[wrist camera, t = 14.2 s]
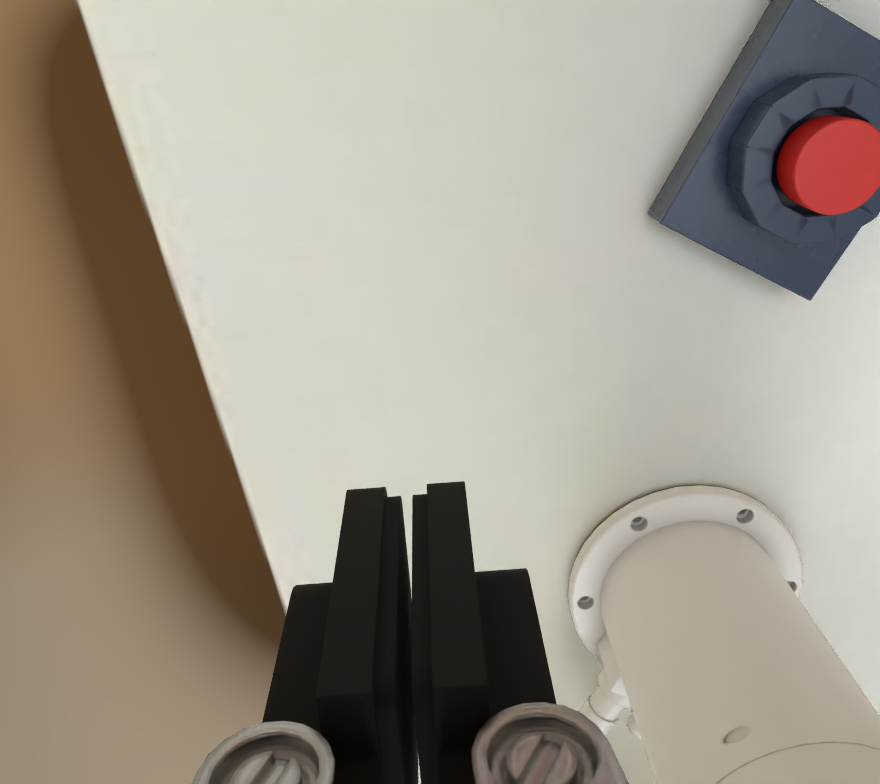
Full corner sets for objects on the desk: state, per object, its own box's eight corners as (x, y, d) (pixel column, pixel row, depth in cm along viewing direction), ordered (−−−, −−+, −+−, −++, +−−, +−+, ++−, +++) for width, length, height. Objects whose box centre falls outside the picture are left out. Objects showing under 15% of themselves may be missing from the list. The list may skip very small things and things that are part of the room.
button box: (789, 287, 38) (829, 313, 35) (646, 213, 37) (672, 232, 33) (926, 84, 35) (986, 89, 31) (775, -7, 33) (819, -13, 30)
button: (829, 221, 34) (849, 230, 32) (757, 183, 33) (775, 190, 31) (884, 140, 32) (908, 145, 31) (810, 98, 32) (832, 101, 30)
